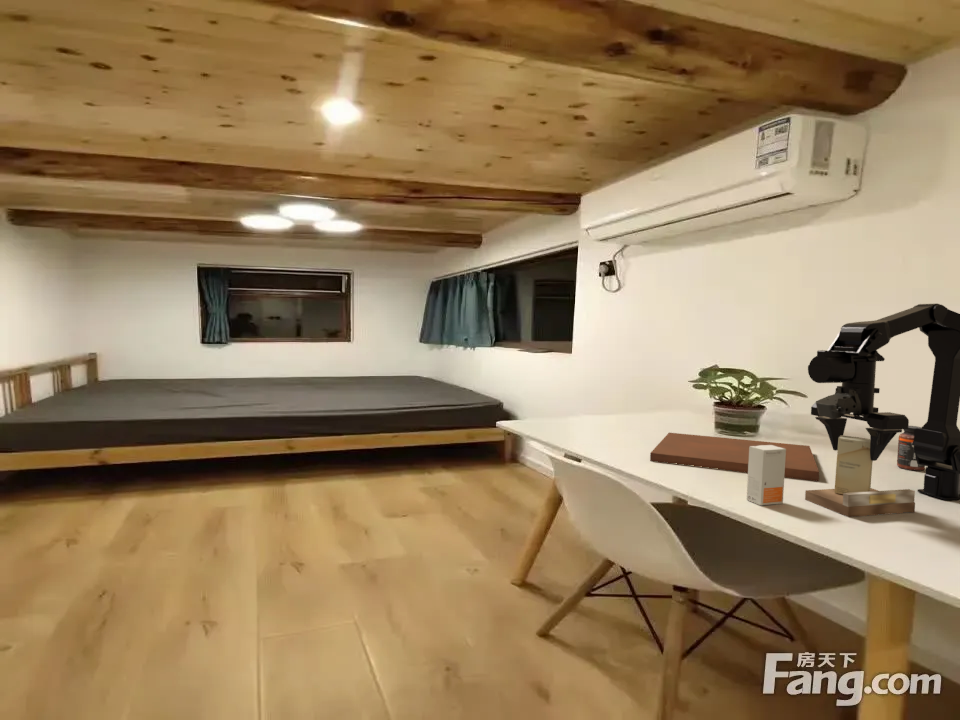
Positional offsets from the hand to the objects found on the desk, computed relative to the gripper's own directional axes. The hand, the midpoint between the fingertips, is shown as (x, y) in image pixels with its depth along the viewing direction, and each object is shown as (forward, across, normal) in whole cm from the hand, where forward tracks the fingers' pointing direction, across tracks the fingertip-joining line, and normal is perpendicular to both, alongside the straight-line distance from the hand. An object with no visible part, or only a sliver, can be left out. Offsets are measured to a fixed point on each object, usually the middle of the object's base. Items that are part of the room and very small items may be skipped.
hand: (854, 455), depth 116 cm
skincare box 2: (+9, 0, 0) cm, 9 cm away
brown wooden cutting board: (+11, -41, +1) cm, 43 cm away
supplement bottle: (+11, -22, +41) cm, 48 cm away
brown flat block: (+10, +2, 0) cm, 11 cm away
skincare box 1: (+11, -4, -18) cm, 21 cm away
